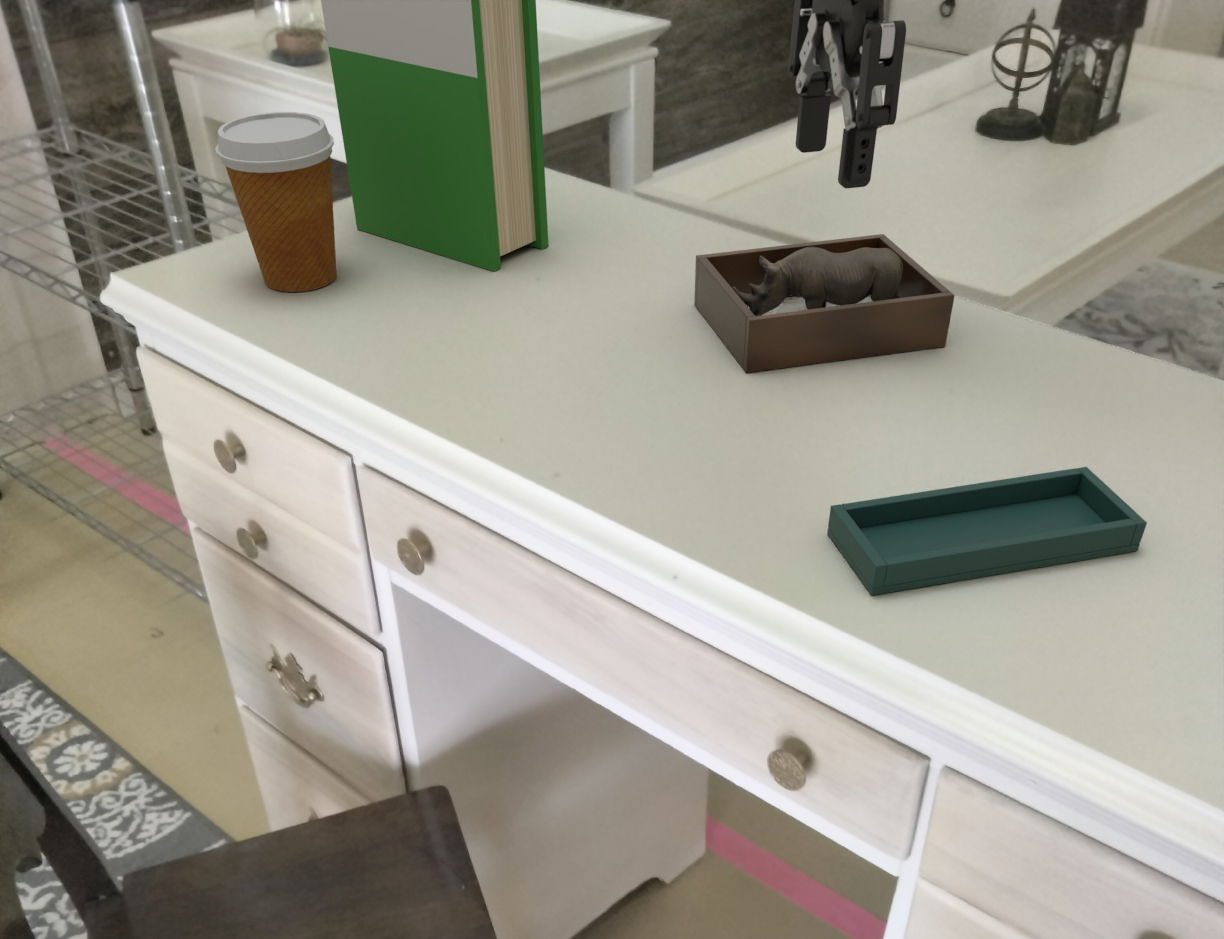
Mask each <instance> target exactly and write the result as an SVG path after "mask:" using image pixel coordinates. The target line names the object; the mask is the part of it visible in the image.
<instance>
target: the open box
mask: <svg viewBox="0 0 1224 939" xmlns="http://www.w3.org/2000/svg"><path fill="white" fill-rule="evenodd" d="M807 247H817V248H821V249H824V250H827V251H829V252H832V253H845V252H850V251H853V250H856V249H859V248H864V247H868V248H889V249H890V250H892V251H893V252H894V253H895V254H897V255H898V257H899V258H900V260H901V262H902V264H903V273H902V282H901V284H900V285H899V287H898V289H897V292H898V293H899V294H900V295H901V297H902V298H897V299H889V300H881V301H873V302H872V301H866V302H858V303H856V304H849V305H841V306H839V305H835V306H834V305H833V306H826V307H825V308H817V309H809V310H807V309H801V310H794V311H793V310H792V311H786V312H785V311H784V312H777V313H769V314H763V315H761V316H755V315H754V314H753V313H752V312H751V310H750V309H749V307H748V306H747V305H746V304H745V303H744V302H743V301H742V300H741V298H740V297H739V296H738V295H737V294H736V292H735V291H734V290H733V287H736V289H737V290H738V291H739V292H741V293H745V294H752V291H751V289H750V287H749V284H754V285H761V284H762V283H763V281H764V278H765V272H764V271H763V268H762V267H761V266H760V262H759V259H760V256H763V257H764V258H765V259H767V260H768V261H769V262H770V263H776V262H777V261H780V260H782V259H784V258H785V257H787V256H789V255H791V254H792V253H794V252H796V251H798V250H801V249H803V248H807ZM694 270H695V272H694V274H695V275H694V300H693V301H694V304H693V305H694V306H695V308H696V309H697V310H698V312H699V313H700V314H701V315H702V317H703V318H704V319H705V321H706V322H707V323H708V325H709V326H710V328H711V329H712V330H713V331H714V332H715V335H717V337H718V338H719V339H720V340H721V342H722V343H723V344H724V346H725V347H726V348H727V350H728V351H729V352H730V353H731V355H732V356H733V357H734V359H735V361H736V362H737V363H738V364H739V365H740V367H741V369H743V371H744V372H745V373H747V374H748V373H756V372H763V371H770V370H778V369H785V368H786V369H787V368H795V367H801V366H810V365H815V364H823V363H832V362H839V361H847V360H854V359H863V358H868V356H870V357H876V356H875V355H877V356H884V355H883V354H885V355H890V354H889V353H893V354H898V353H897V352H899V353H907V352H915V351H922V350H929V349H936V348H937V349H938V348H944V347H946V346H947V339H948V334H949V328H950V323H951V317H952V312H953V308H954V307H953V306H954V301H955V294H954V293H953V292H952V291H950V290H949V289H948V288H947V287H946V286H944V285H943V284H942V283H941V282H940V281H939V280H938V279H937V278H935V277H934V276H933V275H932V274H930V272H928V271H927V270H926V269H925V268H924V267H922V266H921V265H920V264H919V263H918V262H916V261H915V260H914V259H913V257H912V256H911V257H910V255H909V254H907V253H906V252H905V251H904V250H903V249H902V248H900V247H899V246H898V245H897V244H895V243H894V241H893V240H891V239H890V238H889V237H887V235H885V234H884V233H879V234H871V235H862V236H853V237H846V238H845V237H843V238H835V239H827V240H818V241H810V242H801V243H792V244H784V245H775V246H767V247H758V248H750V249H739V250H731V251H723V252H714V253H705V254H697V255H695V269H694ZM796 296H798V295H795V294H794V295H791V294H788V295H787V296H786V297H785V298H787V297H788V298H789V297H796ZM881 354H882V355H881Z"/></svg>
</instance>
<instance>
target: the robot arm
mask: <svg viewBox="0 0 1224 939" xmlns="http://www.w3.org/2000/svg"><path fill="white" fill-rule="evenodd" d="M791 25H792V26H791V36H790V45H789V54H788V64H787V73H788V76H789V78H790V79H792V78H793V79H794V78H796V79H795V90H796V93H797V94H799V100H798V112H797V124H796V134H795V148H796V149H797V150H798V151H799V152H801V153H803V154H805V153H814V152H815V153H817V152H821V151H824V149H825V148H826V145H827V138H828V130H829V119H830V110H831V109H830V108H831V100H832V95H831V94H829V93H826V92H830V91H831V90H832V91H833V94H834V95H835V97H837V98H839V99H840V101H841V107H842V116H843V124H844V128H843V130H842V140H841V147H840V148H841V149H840V157H839V166H838V174H837V182H838V184H839V185H840V186H841V187H842V188H844V189H856V188H857V189H858V188H864V187H866V186H868V185H869V183H870V182H871V178H872V170H873V162H874V155H875V148H876V140H877V133H878V130H879V129H880V128H882V127H884V126H892V125H894V124H895V123H896V121H897V115H898V106H899V99H900V98H899V96H900V89H901V80H902V79H901V78H902V72H903V62H904V53H905V46H906V45H905V44H906V38H907V37H906V36H907V23H906V22H905V20H903V19H901V20H889V21H888V20H887V21H886V16H885V0H794V5H793V14H792V24H791ZM884 86H885V88H884ZM883 88H884V97H883V92H882V89H883ZM856 96H857V100H856Z"/></svg>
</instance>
